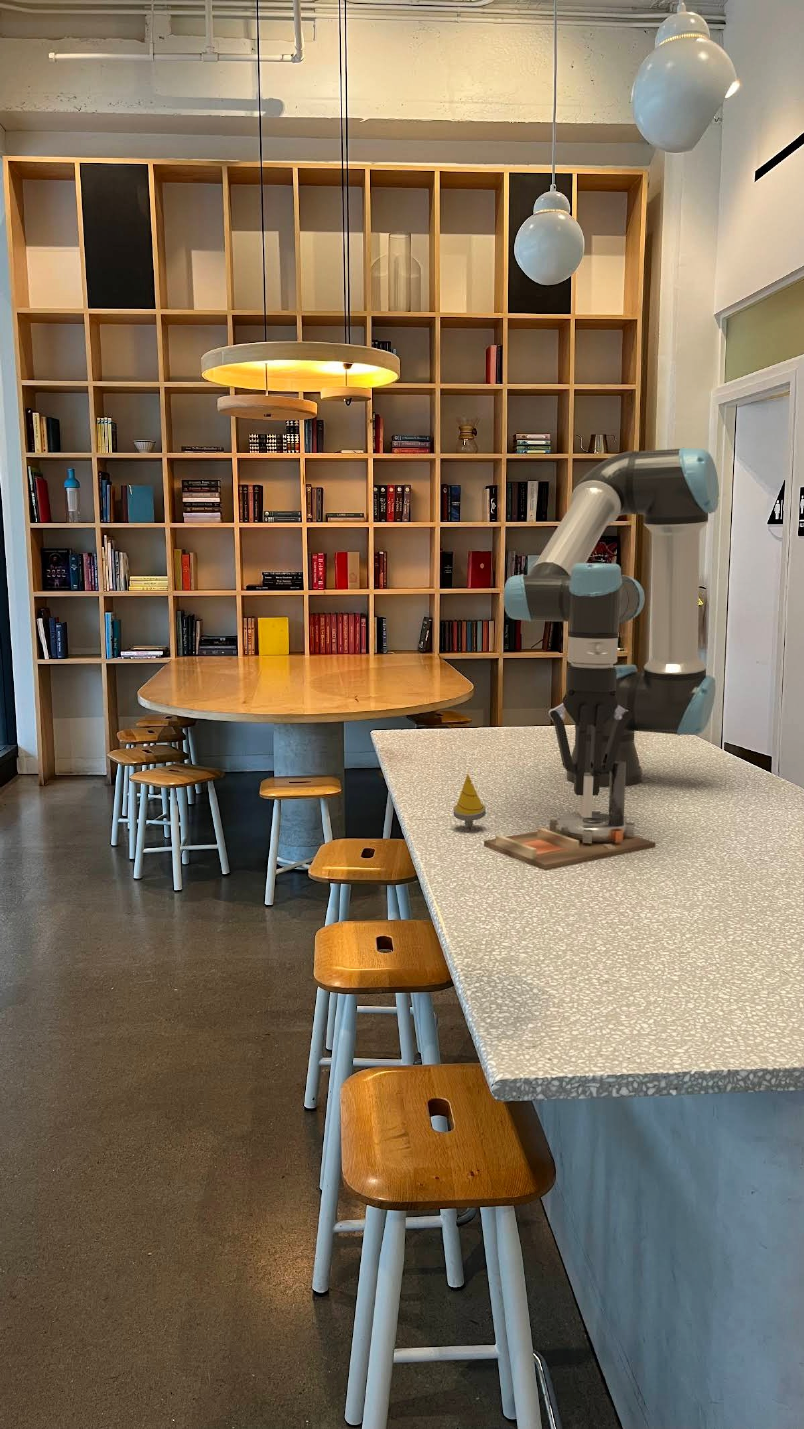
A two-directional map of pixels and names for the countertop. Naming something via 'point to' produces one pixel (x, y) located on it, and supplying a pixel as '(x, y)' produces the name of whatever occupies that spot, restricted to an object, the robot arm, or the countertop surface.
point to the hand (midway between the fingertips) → (585, 815)
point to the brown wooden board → (561, 848)
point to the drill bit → (469, 804)
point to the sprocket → (600, 816)
